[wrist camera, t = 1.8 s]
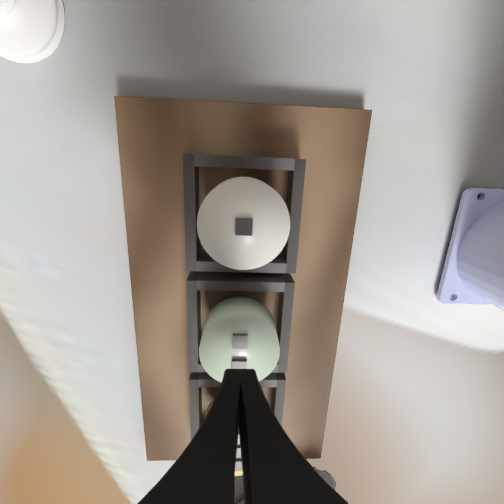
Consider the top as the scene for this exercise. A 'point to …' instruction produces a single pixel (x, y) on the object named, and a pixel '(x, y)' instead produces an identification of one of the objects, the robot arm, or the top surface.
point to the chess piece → (30, 29)
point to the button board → (227, 279)
